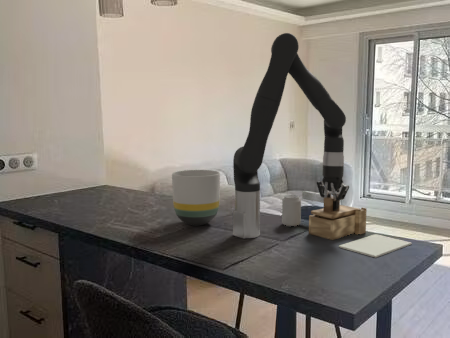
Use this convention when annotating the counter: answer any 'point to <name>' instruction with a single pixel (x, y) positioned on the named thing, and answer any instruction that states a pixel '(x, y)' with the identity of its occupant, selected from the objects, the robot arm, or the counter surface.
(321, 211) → the lid
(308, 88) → the robot arm
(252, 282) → the counter surface
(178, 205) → the planter
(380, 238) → the mat
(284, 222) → the can
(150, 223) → the counter surface
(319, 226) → the toolbox
